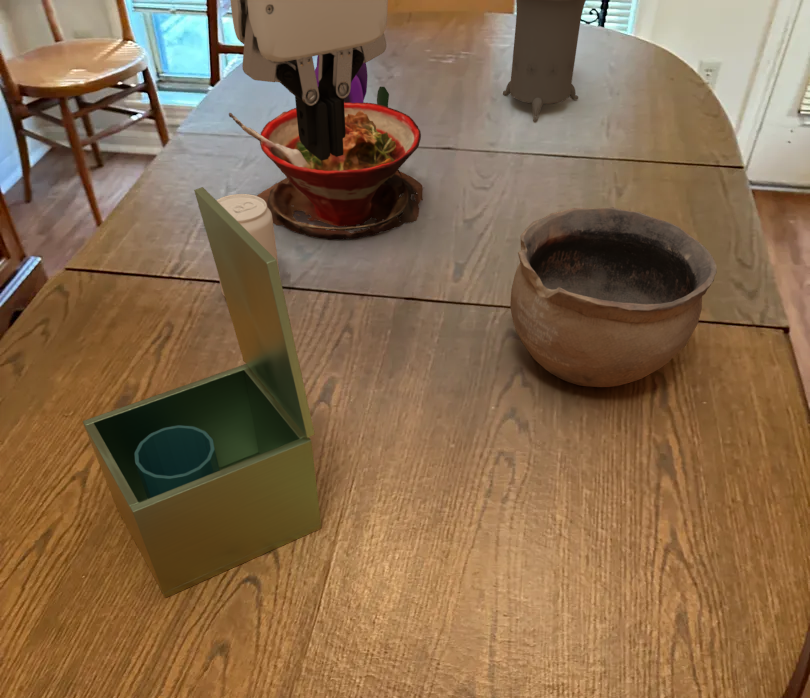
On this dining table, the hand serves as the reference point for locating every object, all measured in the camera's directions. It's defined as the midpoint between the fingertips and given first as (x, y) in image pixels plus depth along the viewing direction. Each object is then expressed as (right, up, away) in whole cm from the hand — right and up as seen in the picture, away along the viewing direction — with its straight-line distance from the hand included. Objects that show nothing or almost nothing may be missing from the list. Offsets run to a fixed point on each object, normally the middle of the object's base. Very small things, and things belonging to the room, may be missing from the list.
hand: (323, 151), depth 60 cm
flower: (-3, +44, +82) cm, 93 cm away
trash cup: (-15, -28, +18) cm, 37 cm away
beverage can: (-15, +4, +48) cm, 50 cm away
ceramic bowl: (+30, -8, +37) cm, 48 cm away
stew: (-4, +21, +63) cm, 67 cm away
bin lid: (-7, -11, +6) cm, 14 cm away
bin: (-13, -28, +20) cm, 36 cm away
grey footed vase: (+32, +55, +92) cm, 112 cm away
